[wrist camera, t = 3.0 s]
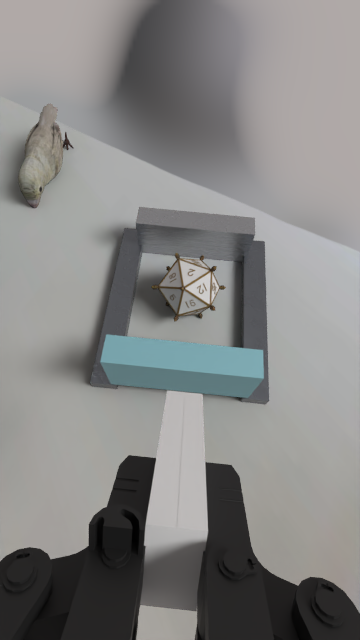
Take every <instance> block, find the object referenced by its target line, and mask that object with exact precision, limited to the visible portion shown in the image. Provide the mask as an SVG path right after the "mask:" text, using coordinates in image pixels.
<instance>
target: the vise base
mask: <svg viewBox="0 0 360 640" xmlns="http://www.w3.org/2000/svg"><path fill="white" fill-rule="evenodd" d="M254 236H255V218H249V217H239V216H228V215H218V214H208V213H197V212H187V211H176V210H166V209H155V208H145V207H139V210H138V215H137V220H136V229H128V228H125V229H124V234H123V238H122V243H121V247H120V252H119V256H118V260H117V265H116V269H115V274H114V278H113V283H112V287H111V292H110V296H109V301H108V305H107V310H106V314H105V318H104V323H103V327H102V332H101V336H100V341H99V345H98V350H97V354H96V359H95V363H94V368H93V372H92V376H91V381H90V383H91V385H92V386H94V387H104V388H113V389H117V387H118V385H115V384H111V383H110V381H109V379H108V377H107V375H106V373H105V371H104V369H103V367H102V365H101V363H100V361H101V356H102V352H103V347H104V342H105V338H106V334H107V335H117V336H127V333H128V327H129V322H130V316H131V311H132V306H133V300H134V295H135V289H136V284H137V279H138V273H139V268H140V262H141V257H142V252H145V253H155V254H166V255H175V253H178V254H179V256H186V257H197V258H200V256H202V255H204V258H207V259H217V260H228V261H238V262H242V336H241V348H247V349H257V350H263V365H264V379H263V380H262V381H261V383H260V384H259V385H258V386H257V388H256V389H255V390H254V391H253V393H252V394H251V395H250V396H249V398H243V397H241V402H250V403H260V404H266V403H267V402H268V401H269V384H268V348H267V313H266V277H265V242H264V241H253V239H254Z"/></svg>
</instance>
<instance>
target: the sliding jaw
mask: <svg viewBox="0 0 360 640" xmlns="http://www.w3.org/2000/svg"><path fill="white" fill-rule="evenodd" d="M100 363H101V365H102V367H103V369H104V371H105V373H106V375H107V377H108V379H109V381H110V383H111V384H115V385H125V386H135V387H145V388H155V389H164V390H174V391H184V392H194V393H204V394H213V395H223V396H233V397H243V398H249V396H250V395H251V394H252V393H253V391H254V390H255V389H256V388H257V386H258V385H259V384H260V383H261V381H262V380H263V379H264V365H263V350H257V349H247V348H237V347H227V346H217V345H207V344H197V343H187V342H177V341H167V340H157V339H147V338H137V337H127V336H117V335H107V334H106V338H105V342H104V347H103V352H102V356H101V361H100Z"/></svg>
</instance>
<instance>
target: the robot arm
mask: <svg viewBox="0 0 360 640" xmlns="http://www.w3.org/2000/svg"><path fill="white" fill-rule="evenodd" d="M241 491H242V489H241V483H240V477H239V476H238V474H237V473H236V471H235V470H234V468H233V467H232V465H226V464H216V463H207V462H205V443H204V418H203V394H198V393H188V392H178V391H168V390H167V395H166V401H165V407H164V413H163V420H162V426H161V432H160V438H159V444H158V451H157V457H156V458H149V457H140V456H130V455H129V456H128V457H127V458H126V459H125V460H124V461H123V462H122V463H121V464H120V466H119V469H118V472H117V475H116V480H115V482H114V485H113V490H112V492H111V495H110V499H109V502H108V505H107V507H106V508H103V509H102V510H100V511H99V512H98V513H97V514H95V515H94V517H93V518H92V520H91V522H90V524H89V546H88V547H87V548H85V549H84V550H82V551H80V552H78V553H76V554H73V555H70V556H65V557H60V558H56V559H51V560H50V558H49V556H48V554H47V553H45V552H44V551H42V550H41V549H37V548H30V547H29V548H24V549H19V550H17V551H15V552H13V553H11V554H9V555H7V556H6V557H5V558H3V559H2V560H1V561H0V640H136V636H137V626H138V615H139V608H140V605H146V606H155V607H164V608H173V609H182V610H190V611H196V609H197V629H196V635H195V640H360V613H359V612H358V610H357V608H356V607H355V605H354V604H353V602H352V601H351V600H350V598H349V597H348V596H347V595H346V593H345V592H344V591H343V590H341V589H340V588H339V587H337V586H336V585H335V584H334V583H332V582H330V581H327V580H325V579H323V578H315V577H310V578H307V579H305V580H303V581H301V583H300V584H299V586H297V585H295V584H293V583H290V582H288V581H286V580H284V579H281V578H279V577H277V576H275V575H274V574H272V573H270V572H269V571H268V570H267V569H265V568H264V567H263V566H262V565H261V563H260V562H259V561H258V559H257V558H256V556H255V555H254V553H253V550H252V547H251V542H250V537H249V531H248V525H247V519H246V513H245V507H244V503H243V495H242V492H241Z"/></svg>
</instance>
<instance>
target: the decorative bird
mask: <svg viewBox="0 0 360 640" xmlns="http://www.w3.org/2000/svg"><path fill="white" fill-rule="evenodd" d="M57 111H58V109H57V108H56V107H53V105H52V104H47V106H45V107H43V111H42V112H41V114H40V119H39V122H38V123H37V124H36V125H35V126H34V127H33V128H32V130H31V131H30V133H29V135H28V137H27V140H26V145H25V160H24V162H23V164H22V166H21V168H20V171H19V176H18V181H19V186H20V189H21V192H22V193H23V195H24V197H25V198H26V200H27V201H28V203H29V204H30V205H31V206H32V207H34V208H37V206H38V204H39V202H40V198H41V194H42V192H43V189H44V186H45V185H46V184H47V183H48V182H49V181H51V180H52V179H53V178H54V177H55V176H56V175H57V174H58V173H59V171H60V169H61V165H62V159H63V148H64V146H65V145H66V147H67V150H68V144H69V146H70V147H72V146H71V144H70V143H69V140H68V139H67V135H66V132H65V142H64V141H63V140H62V137H61V132H60V128H59V126H58V124H57V123H56V122H55V120H56V117H57ZM63 143H64V144H63ZM62 144H63V145H62ZM72 148H73V147H72Z"/></svg>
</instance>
